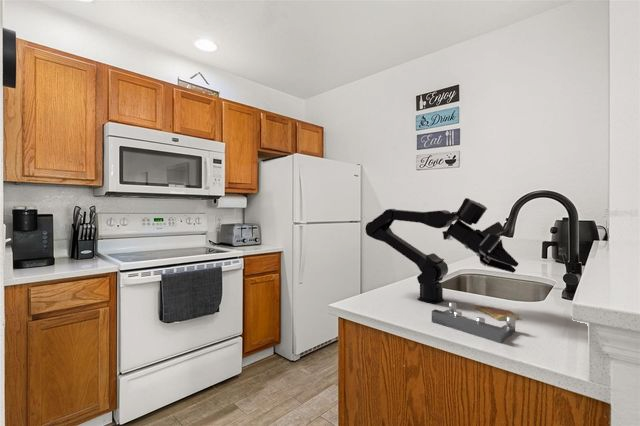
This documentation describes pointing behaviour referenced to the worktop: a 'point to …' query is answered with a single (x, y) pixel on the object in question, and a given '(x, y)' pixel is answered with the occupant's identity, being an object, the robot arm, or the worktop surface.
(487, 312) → the shard
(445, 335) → the worktop surface
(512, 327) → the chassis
